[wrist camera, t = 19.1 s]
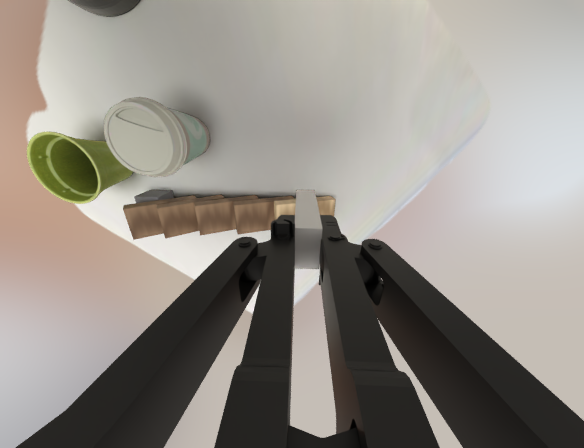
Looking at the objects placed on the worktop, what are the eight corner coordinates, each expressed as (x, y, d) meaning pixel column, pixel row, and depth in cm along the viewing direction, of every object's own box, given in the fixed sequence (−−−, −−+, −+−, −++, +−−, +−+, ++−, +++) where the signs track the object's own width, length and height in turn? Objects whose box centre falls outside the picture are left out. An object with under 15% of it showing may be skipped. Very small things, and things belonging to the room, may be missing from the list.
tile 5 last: (194, 195, 37) (123, 205, 32) (196, 198, 35) (123, 209, 30) (199, 221, 39) (133, 234, 34) (201, 225, 37) (133, 239, 32)
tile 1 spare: (330, 196, 37) (273, 200, 34) (335, 199, 35) (276, 205, 32) (327, 222, 39) (274, 228, 36) (332, 226, 37) (277, 233, 34)
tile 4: (221, 194, 37) (156, 204, 32) (224, 197, 36) (156, 208, 31) (224, 220, 40) (164, 233, 34) (228, 223, 38) (165, 238, 33)
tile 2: (291, 195, 37) (233, 201, 34) (295, 199, 35) (234, 205, 32) (291, 221, 39) (236, 229, 36) (295, 226, 37) (237, 234, 34)
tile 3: (255, 194, 37) (194, 202, 33) (258, 198, 36) (194, 206, 32) (257, 220, 39) (199, 230, 36) (260, 224, 38) (200, 235, 34)
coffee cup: (229, 139, 33) (193, 145, 23) (196, 174, 36) (150, 194, 25) (186, 91, 31) (123, 73, 20) (154, 133, 34) (83, 136, 23)
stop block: (150, 189, 38) (134, 196, 34) (172, 190, 38) (158, 197, 34) (159, 220, 40) (144, 229, 37) (179, 220, 40) (167, 230, 36)
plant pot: (80, 164, 36) (19, 174, 29) (97, 117, 33) (33, 114, 25) (132, 197, 39) (88, 216, 31) (152, 157, 35) (109, 166, 27)
